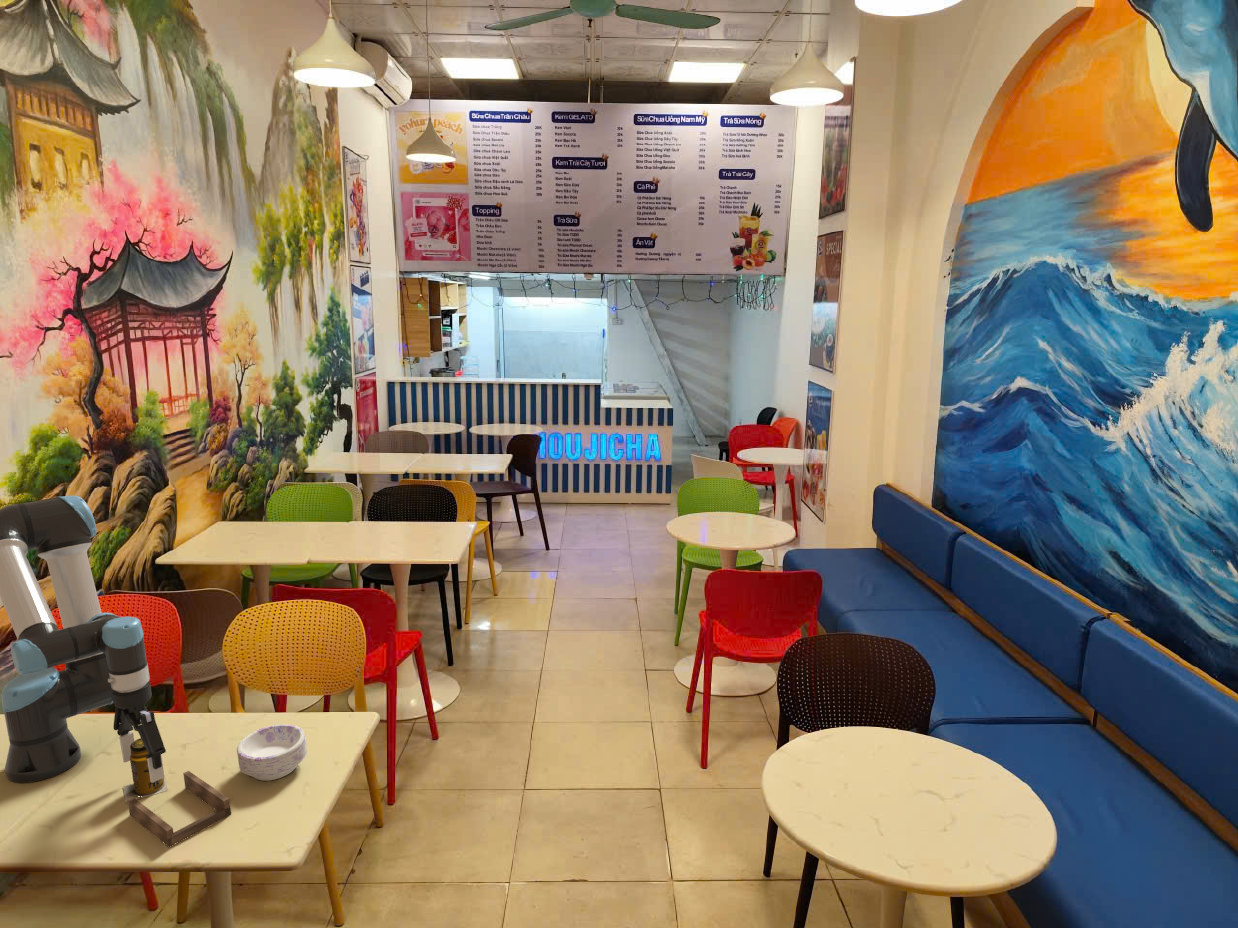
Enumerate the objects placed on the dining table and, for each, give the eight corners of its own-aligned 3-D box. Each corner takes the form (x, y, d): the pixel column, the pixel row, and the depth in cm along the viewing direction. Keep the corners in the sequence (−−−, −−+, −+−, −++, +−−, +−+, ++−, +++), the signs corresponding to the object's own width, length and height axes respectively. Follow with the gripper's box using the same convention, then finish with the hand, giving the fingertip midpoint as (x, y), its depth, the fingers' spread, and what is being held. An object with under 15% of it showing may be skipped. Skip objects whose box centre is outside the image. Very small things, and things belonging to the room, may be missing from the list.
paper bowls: (235, 793, 189) (231, 762, 187) (245, 757, 203) (242, 728, 201) (305, 782, 193) (302, 752, 191) (310, 747, 207) (308, 719, 205)
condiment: (167, 790, 190) (161, 744, 187) (125, 803, 185) (118, 756, 183) (164, 775, 196) (157, 730, 193) (123, 787, 191) (116, 741, 189)
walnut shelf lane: (129, 815, 181) (127, 799, 180) (190, 785, 192) (188, 770, 191) (169, 847, 171) (166, 830, 170) (231, 814, 181) (229, 798, 180)
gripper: (88, 676, 189) (102, 758, 194) (138, 708, 174) (152, 796, 179) (123, 664, 195) (135, 744, 199) (174, 694, 180) (186, 779, 185)
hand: (143, 769), depth 189 cm, fingers open, 13 cm apart
